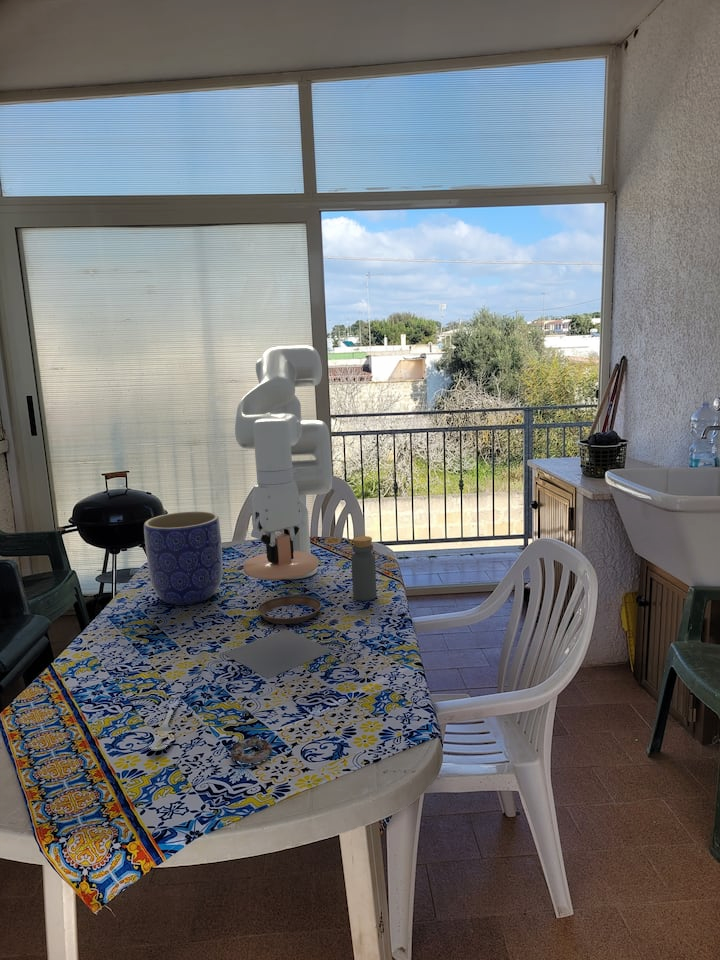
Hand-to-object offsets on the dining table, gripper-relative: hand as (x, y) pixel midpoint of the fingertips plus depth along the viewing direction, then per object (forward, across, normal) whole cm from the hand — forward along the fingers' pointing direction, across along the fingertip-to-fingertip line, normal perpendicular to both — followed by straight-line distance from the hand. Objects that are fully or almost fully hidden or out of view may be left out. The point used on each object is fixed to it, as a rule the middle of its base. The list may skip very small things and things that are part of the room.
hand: (280, 559), depth 141 cm
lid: (+2, 0, 0) cm, 2 cm away
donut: (+16, +32, +34) cm, 49 cm away
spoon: (+16, +36, +16) cm, 42 cm away
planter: (+17, +5, -36) cm, 40 cm away
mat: (+16, +8, +9) cm, 20 cm away
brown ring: (+17, -6, -6) cm, 19 cm away
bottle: (+17, -26, -2) cm, 31 cm away
